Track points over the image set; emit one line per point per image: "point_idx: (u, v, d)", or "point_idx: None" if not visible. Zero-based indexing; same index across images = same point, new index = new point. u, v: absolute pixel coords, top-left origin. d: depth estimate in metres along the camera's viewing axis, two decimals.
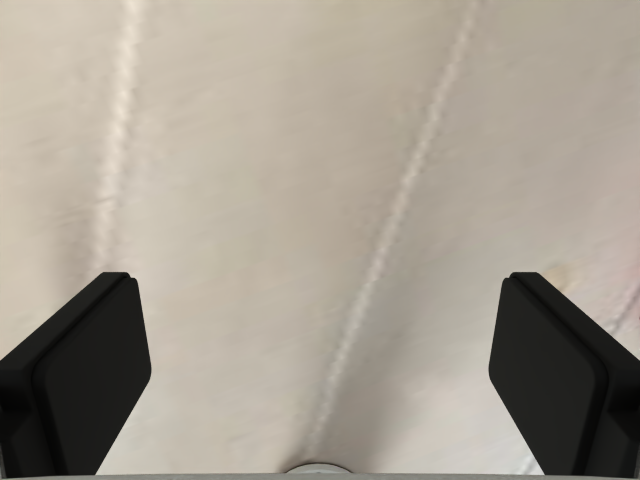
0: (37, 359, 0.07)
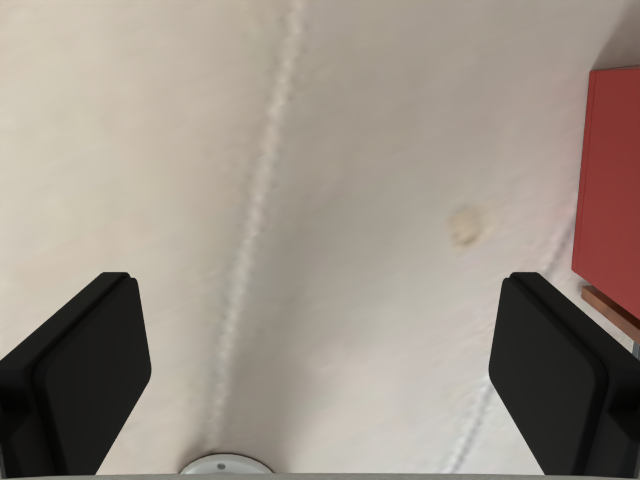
0: (37, 359, 0.07)
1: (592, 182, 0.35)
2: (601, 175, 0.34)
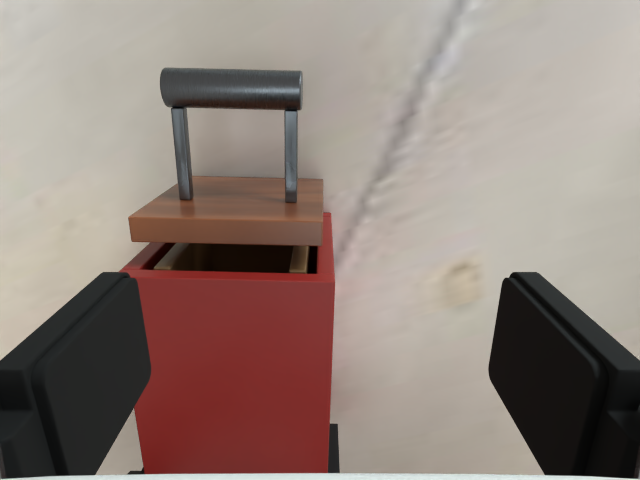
0: (37, 359, 0.07)
1: None
2: None
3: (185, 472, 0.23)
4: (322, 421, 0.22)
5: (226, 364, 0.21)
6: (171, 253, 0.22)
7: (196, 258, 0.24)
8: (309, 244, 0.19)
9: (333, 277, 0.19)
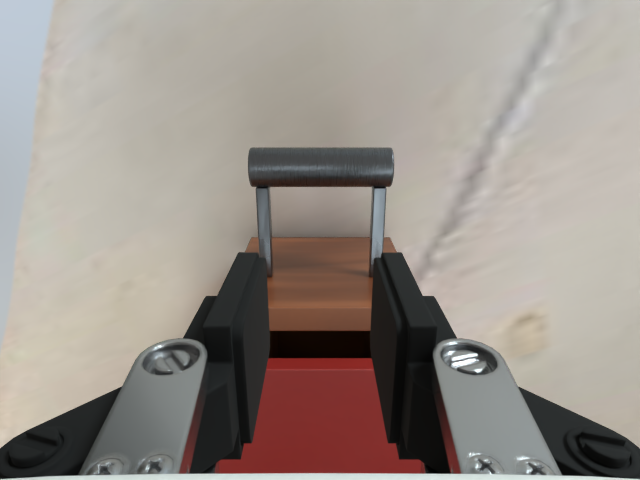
0: (233, 319, 0.08)
1: None
2: None
3: None
4: None
5: (318, 451, 0.20)
6: None
7: None
8: None
9: None
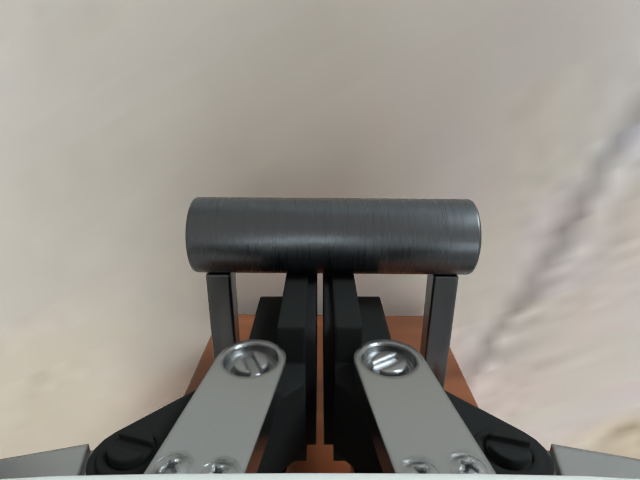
0: (305, 320, 0.08)
1: None
2: None
3: None
4: None
5: None
6: None
7: None
8: None
9: None
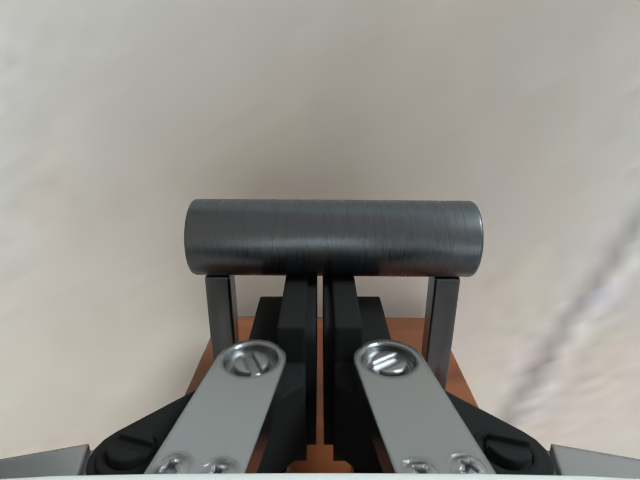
0: (305, 320, 0.08)
1: None
2: None
3: None
4: None
5: None
6: None
7: None
8: None
9: None
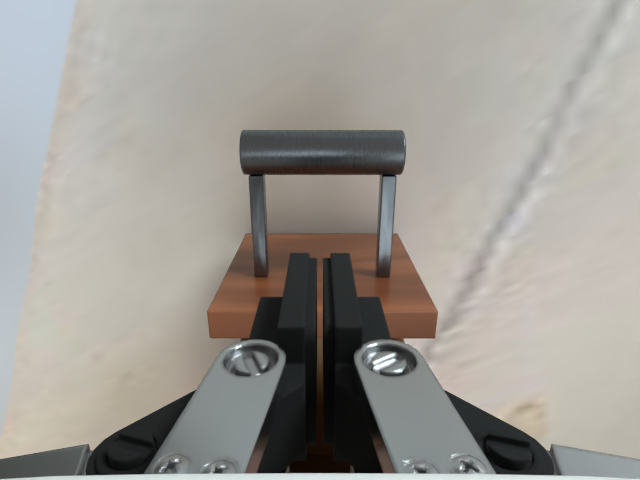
0: (305, 320, 0.08)
1: None
2: None
3: None
4: None
5: None
6: None
7: None
8: (420, 336, 0.16)
9: None
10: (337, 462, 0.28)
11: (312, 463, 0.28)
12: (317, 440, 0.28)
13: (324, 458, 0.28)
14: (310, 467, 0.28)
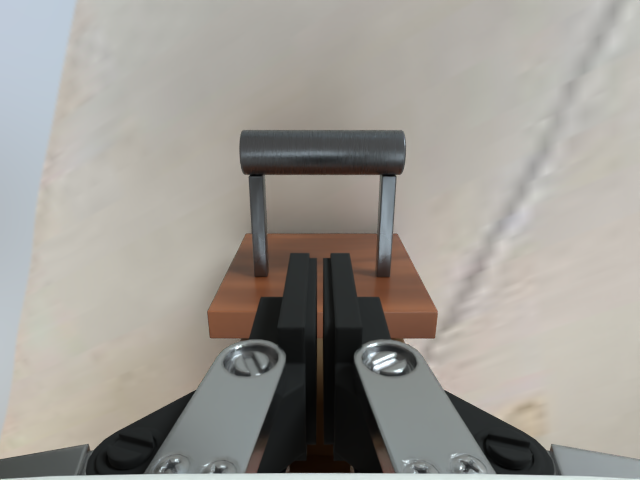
0: (305, 320, 0.08)
1: None
2: None
3: None
4: None
5: None
6: None
7: None
8: (420, 336, 0.16)
9: None
10: (337, 462, 0.28)
11: (312, 463, 0.28)
12: (317, 440, 0.28)
13: (324, 458, 0.28)
14: (310, 467, 0.28)
